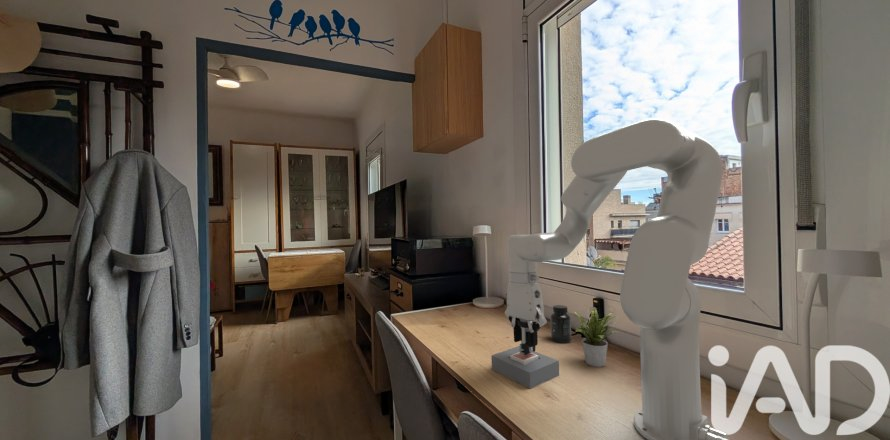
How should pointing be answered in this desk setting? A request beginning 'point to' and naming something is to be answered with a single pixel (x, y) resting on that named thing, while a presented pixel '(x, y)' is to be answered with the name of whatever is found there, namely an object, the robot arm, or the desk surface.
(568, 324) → the supplement bottle
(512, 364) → the grey button box
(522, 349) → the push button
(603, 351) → the house plant
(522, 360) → the breaker button
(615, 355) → the desk surface
